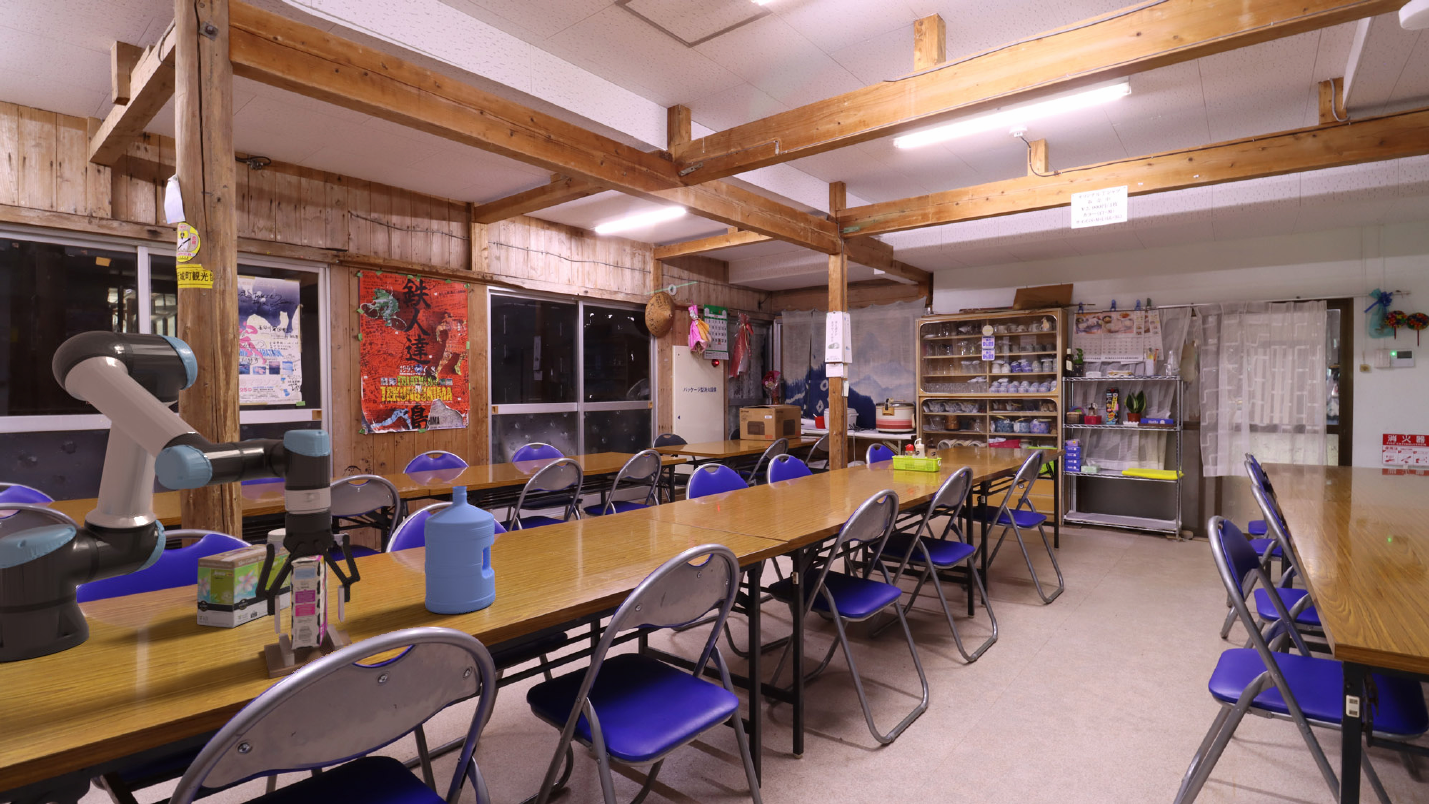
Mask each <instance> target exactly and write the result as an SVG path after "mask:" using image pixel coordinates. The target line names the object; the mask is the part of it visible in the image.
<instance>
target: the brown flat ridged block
mask: <svg viewBox="0 0 1429 804" xmlns="http://www.w3.org/2000/svg"><path fill="white" fill-rule="evenodd" d="M352 643H353V641H352V639H351V637H350V636H349V634H348V632H347V630H346V629H341V630H337V629H336V627H335V625H334V623H329V624H328V626H327V630H326V632H325V635H324V637H323V640H322V642H321V645H320V647H315V648H308V649H300V650H291V639H290V637H289V634H288V632H282V633H278V642H274V643H270V644H269V643H268V644H264V645H263V646H264V647H263V649H264V655H265V662H266V666H267V670H268V675H269V679H274V678H279V677H282V676H283V677H284V676H288V675H292V674H291V673H292V672H293V671H296V670H297V669H300V668H301V667H302V666H305V665H306V664H308V663H310V662H311V661H313V660H315V659H318V658H320V657H321V656H325V655H326V654H330V653H331V652H333V651H337V650H339V649H341V648H343V647H344V646H348V645H349V644H352Z"/></svg>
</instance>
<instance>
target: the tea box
mask: <svg viewBox="0 0 1429 804" xmlns="http://www.w3.org/2000/svg"><path fill="white" fill-rule="evenodd" d="M289 554H290V552H289V551H288V550H287V549H286V548H285V547H282V548H280V551H279V553H277V554H275V559H274V562H273V566H272V569H271V572H270V575H269V578H268V582H267V585H266V588H265V589H266V590H269V588H270V586H271V585H272V583H273V581H274V580H275V578H276V576H277V575H278V573H279V571H280V570H281V568H282V566H283V565H284V563H285V561H286V559H287V557H288V556H289ZM266 555H267V553H266V544H262V543H261V544H258V543H256V544H252V545H248V546H245V547H239V548H235V549H233V550H228V551H224V552H221V553H216V554H211V555H207V556H203V557H200V558H197V597H196V598H197V600H196V601H197V602H196V603H197V606H196V607H197V608H196V609H197V610H196V611H197V612H196V613H197V614H196V618H197V619H196V623H197V625H200V626H208V627H218V628H235V627H238V626H240V625H242V624H244V623H248V622H249V621H253V620H255V619H258V618H261V617H264V616H267V615H268V613H267V599H266V598H262V597H260V598H258V597H256V594H255V590H256V587H257V583H258V580H259V577H260V574H261V571H262V567H263V564H264V561H265V558H266ZM276 595H279V597H280V611H282V610H284V609H287V608H290V607H291V590H290V573H289V574H288V576H287V578H286V579H285V581H284V583H283V584H282V586H281V588H280V589H279V591H278V593H277V594H276Z"/></svg>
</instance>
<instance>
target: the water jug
mask: <svg viewBox="0 0 1429 804" xmlns="http://www.w3.org/2000/svg"><path fill="white" fill-rule="evenodd" d="M467 488H468V487H467V486H466V485H459V486H458V485H456V486H452V488H451V489H452V491H453V492H452V503H451V505H449V506H447V507H445V508H443V509H441V510H439V511H437V512H435V513H433V514H432V515H430V516H427V517H426V519H425V520H424V527H423V531H424V532H423V534H424V536H423V537H424V550H425V551H424V552H425V553H424V574H425V598H424V606H425V608H426V610H428V611H429V612H431V613H434V614H440V615H459V613H460V614H464V613H465V614H466V612H467V613H471V611H472V612H476V611H480V610H482V609H485V608H486V607H488V606H490V605H491V604H493V603H494V601H495V600H496V588H495V587H496V585H495V584H496V582H495V580H496V579H495V575H496V574H495V570H494V569H493V568H492V566H491V565H492V563H491V562H492V561H491V559H492V558H491V556H492V555H491V554H492V552H491V551H492V550H491V546H492V545H494V544H495V531H496V527H495V526H496V525H495V524H496V523H495V515H494V514H493V513H491V512H490V511H486V510H484V509H481V508H480V507H476V506H475V505H471V504H469V503H468V500H467V498H468V497H467V496H468V492H467Z"/></svg>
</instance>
